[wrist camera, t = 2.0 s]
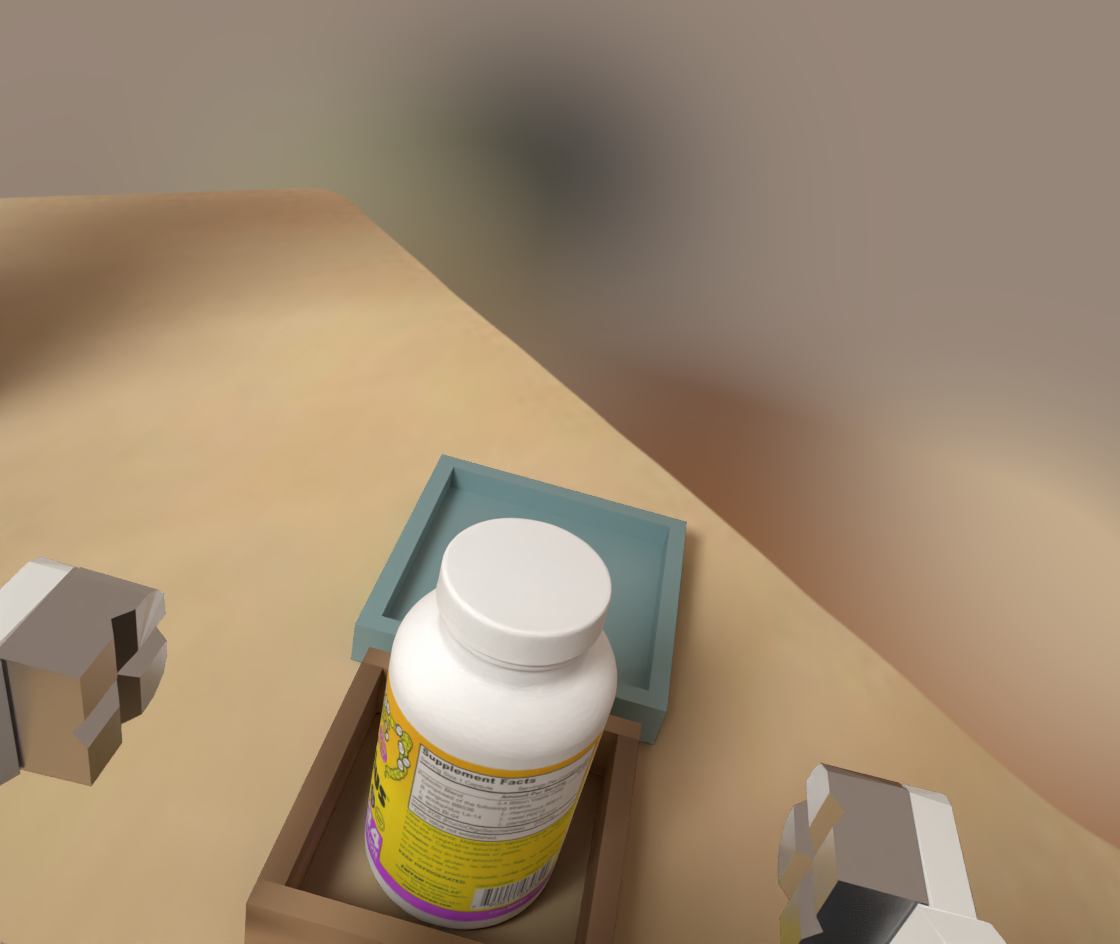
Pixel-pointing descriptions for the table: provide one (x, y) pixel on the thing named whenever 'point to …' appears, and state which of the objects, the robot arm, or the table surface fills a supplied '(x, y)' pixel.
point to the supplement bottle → (490, 723)
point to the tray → (607, 527)
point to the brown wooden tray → (380, 940)
